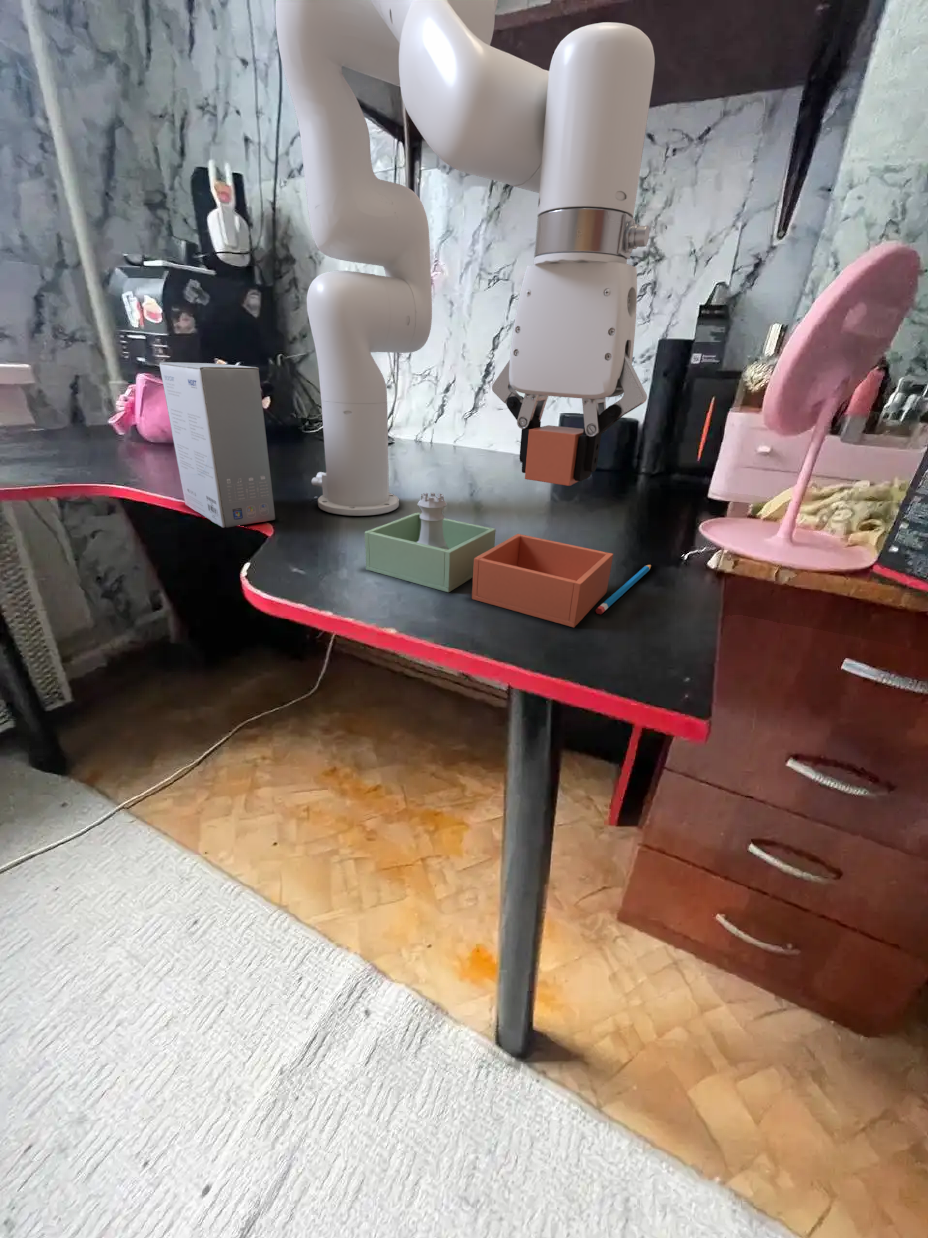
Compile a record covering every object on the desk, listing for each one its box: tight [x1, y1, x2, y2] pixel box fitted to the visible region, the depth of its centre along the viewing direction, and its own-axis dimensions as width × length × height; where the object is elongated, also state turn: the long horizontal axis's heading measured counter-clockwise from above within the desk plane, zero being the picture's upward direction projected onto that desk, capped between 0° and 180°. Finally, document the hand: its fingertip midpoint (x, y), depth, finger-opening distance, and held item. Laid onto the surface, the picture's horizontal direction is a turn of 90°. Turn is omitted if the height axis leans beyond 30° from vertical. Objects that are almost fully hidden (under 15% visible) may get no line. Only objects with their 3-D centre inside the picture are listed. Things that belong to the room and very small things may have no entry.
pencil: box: [594, 564, 652, 615], centre depth 61 cm, size 1×17×1 cm, turn 146°
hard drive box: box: [158, 361, 276, 529], centre depth 76 cm, size 16×8×20 cm, turn 43°
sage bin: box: [364, 512, 497, 593], centre depth 63 cm, size 11×10×4 cm
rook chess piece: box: [417, 492, 449, 550], centre depth 62 cm, size 4×4×8 cm
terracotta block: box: [524, 424, 584, 487], centre depth 51 cm, size 4×4×4 cm
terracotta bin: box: [471, 533, 614, 628], centre depth 57 cm, size 11×10×4 cm
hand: (556, 472), depth 52 cm, fingers closed on terracotta block, 4 cm apart
